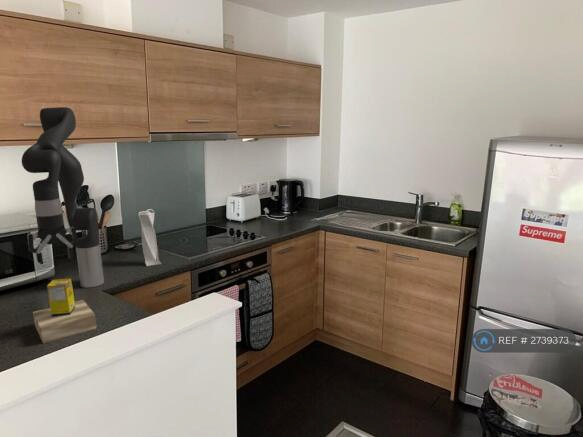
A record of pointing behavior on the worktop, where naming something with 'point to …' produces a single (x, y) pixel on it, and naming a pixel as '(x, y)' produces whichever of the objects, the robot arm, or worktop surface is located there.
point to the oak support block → (64, 322)
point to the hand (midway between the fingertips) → (56, 261)
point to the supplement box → (61, 297)
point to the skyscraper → (149, 238)
